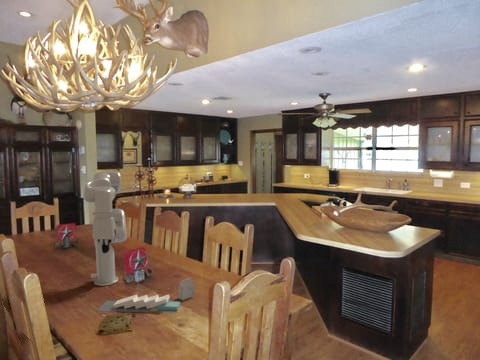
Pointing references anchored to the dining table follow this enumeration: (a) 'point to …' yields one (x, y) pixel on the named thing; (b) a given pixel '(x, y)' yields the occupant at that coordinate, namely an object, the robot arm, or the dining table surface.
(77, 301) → the dining table surface
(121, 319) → the pastry
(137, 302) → the domino
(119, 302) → the domino
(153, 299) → the domino
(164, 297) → the domino
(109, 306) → the board
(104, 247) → the robot arm
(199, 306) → the dining table surface
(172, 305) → the domino
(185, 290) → the grey upright block
